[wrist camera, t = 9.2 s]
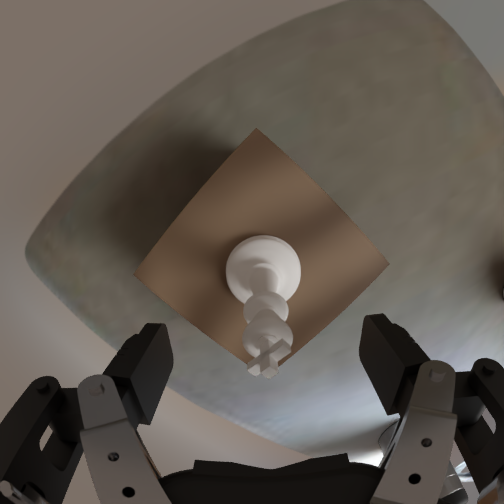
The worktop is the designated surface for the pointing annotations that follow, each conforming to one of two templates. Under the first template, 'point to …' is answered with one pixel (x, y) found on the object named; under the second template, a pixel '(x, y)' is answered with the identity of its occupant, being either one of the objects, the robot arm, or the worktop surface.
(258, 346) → the chess piece
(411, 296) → the worktop surface
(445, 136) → the worktop surface
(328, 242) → the small wooden table
